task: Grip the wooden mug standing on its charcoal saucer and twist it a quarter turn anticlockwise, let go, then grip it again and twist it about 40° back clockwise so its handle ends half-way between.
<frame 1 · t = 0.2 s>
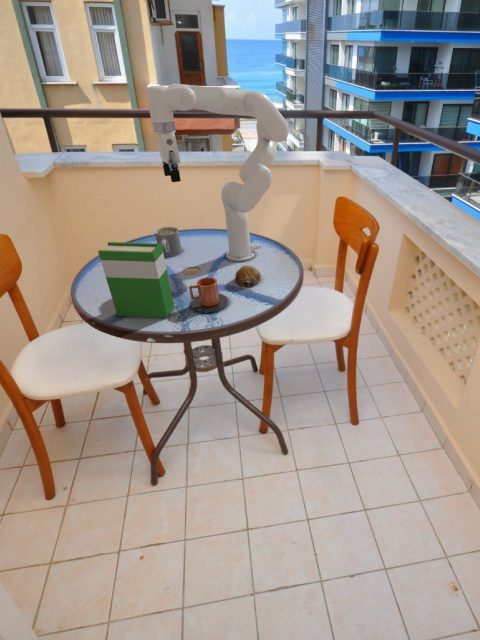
hand: (172, 178, 153), 36 cm above the table, tool pointing down, fingers open, 9 cm apart
wooden mug: (204, 292, 147), point 5 cm above the table, hinge at 0.0°
bread roll: (248, 281, 164), on the table
saucer: (210, 303, 150), on the table
hardback book: (146, 311, 145), on the table
coffee mug: (168, 254, 185), on the table
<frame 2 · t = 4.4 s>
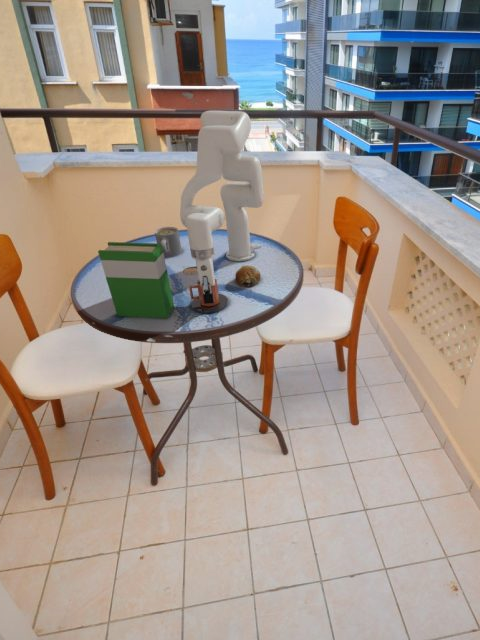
hand: (209, 297, 148), 3 cm above the table, tool pointing down, fingers closed on wooden mug, 6 cm apart
wooden mug: (204, 292, 147), point 5 cm above the table, hinge at 0.0°, touching gripper
everything else where it was.
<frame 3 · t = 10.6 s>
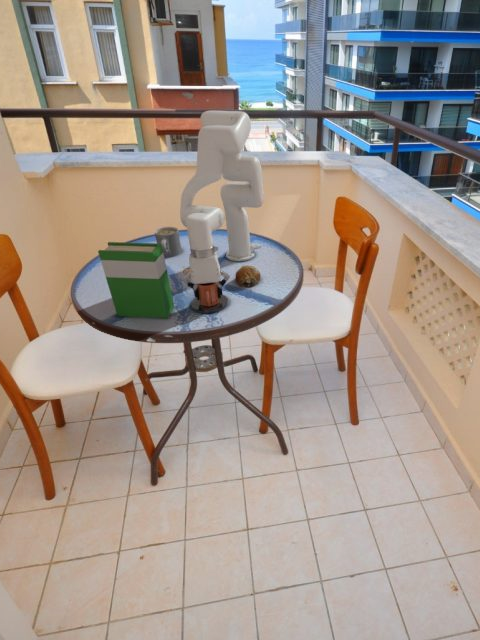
hand: (209, 297, 148), 3 cm above the table, tool pointing down, fingers closed on wooden mug, 6 cm apart
wooden mug: (208, 293, 146), point 5 cm above the table, hinge at 89.9°, touching gripper
everything else where it was.
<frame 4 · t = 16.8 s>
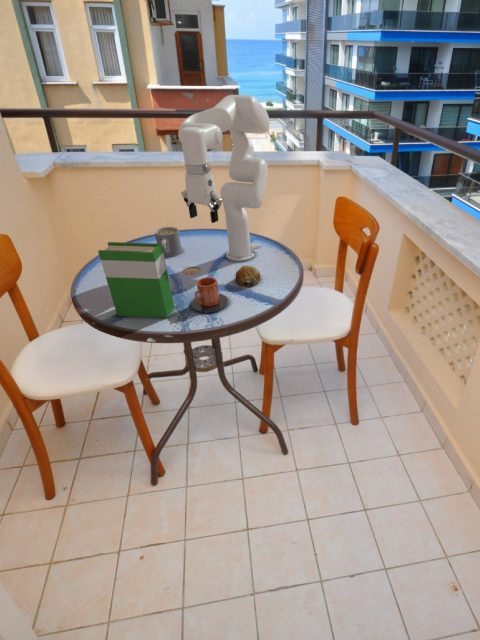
hand: (204, 219, 146), 26 cm above the table, tool pointing down, fingers open, 9 cm apart
wooden mug: (205, 293, 146), point 5 cm above the table, hinge at 50.2°
everything else where it was.
at the end: wooden mug reached +90° during the clip, +50° at the end; wooden mug at +50° (first picture: +0°); the gripper is holding nothing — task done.
